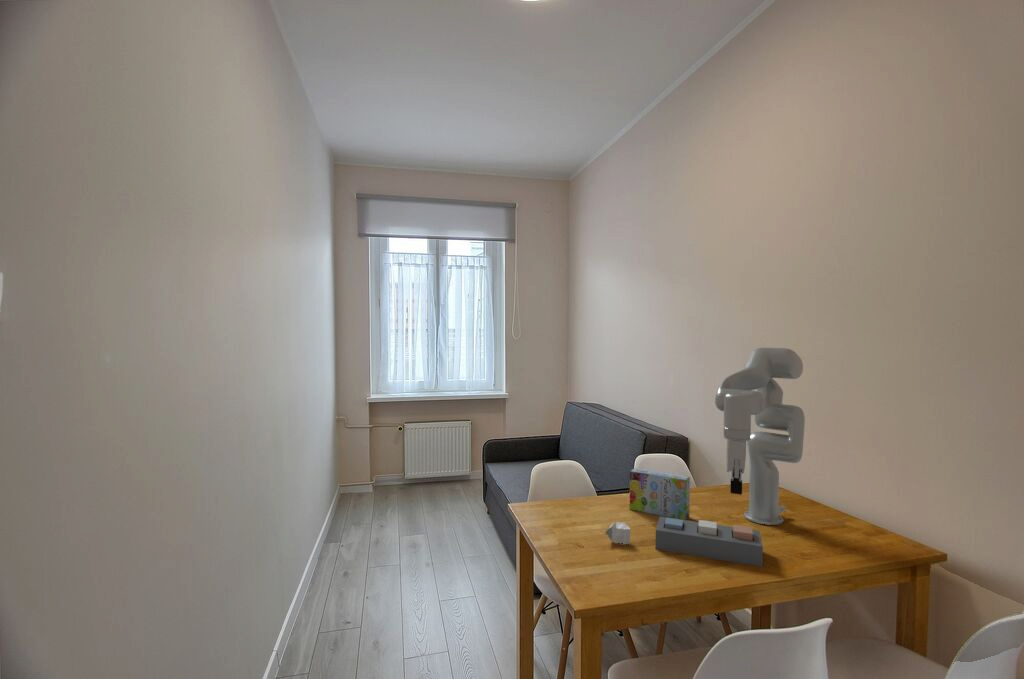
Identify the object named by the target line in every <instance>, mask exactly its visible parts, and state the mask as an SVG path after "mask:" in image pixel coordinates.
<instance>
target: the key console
mask: <svg viewBox="0 0 1024 679" xmlns="http://www.w3.org/2000/svg"><path fill="white" fill-rule="evenodd" d="M666 518H668V517H665V516H659V518H658V521H657V525H656V528H655V550H660V551H665V552H672V553H676V554H683V555H689V556H694V557H699V558H700V557H701V558H708V559H713V560H719V561H725V562H731V563H737V564H743V565H749V566H753V567H754V566H755V567H760V568H763V562H764V561H763V560H764V559H763V558H764V557H763V556H764V547H763V542H762V536H761V533H760V530H755V529H752V532H753V541H749V540H743V539H736V538H733V526H727V525H721V524H717V536H716V535H710V534H703V533H698V525H699V521H693V520H688V519H687V520H683V530H677V529H670V528H665V521H666ZM672 519H674V518H672ZM679 520H681V519H679Z"/></svg>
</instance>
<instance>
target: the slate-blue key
mask: <svg viewBox="0 0 1024 679" xmlns="http://www.w3.org/2000/svg"><path fill="white" fill-rule="evenodd" d="M665 528H670V529H677V530H683V520H679V519H672V518H670V517H667V518H666V521H665Z"/></svg>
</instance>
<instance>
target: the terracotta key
mask: <svg viewBox="0 0 1024 679" xmlns="http://www.w3.org/2000/svg"><path fill="white" fill-rule="evenodd" d="M732 527H733V538H736V539H743V540H749V541H753V532H752V530H753V527H751V526H745V525H738V524H737V525H736V524H733V525H732Z"/></svg>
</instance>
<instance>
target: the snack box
mask: <svg viewBox="0 0 1024 679" xmlns="http://www.w3.org/2000/svg"><path fill="white" fill-rule="evenodd" d="M690 481H691V477H690V476H687V475H682V474H681V475H680V474H676V473H675V474H674V473H670V472H669V473H668V472H661V471H656V470H655V471H654V470H648V469H642V468H632V469H631V470H630V472H629V510H630V509H633V510H632V511H635V510H637V512H640V511H641V512H640V513H645V512H646V514H650V515H651V514H652V515H655V516H659V517H667V518H674V519H681V520H688V519H689V518H690V496H691V495H690V491H691V490H690V489H691V488H690V485H691V482H690Z"/></svg>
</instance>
